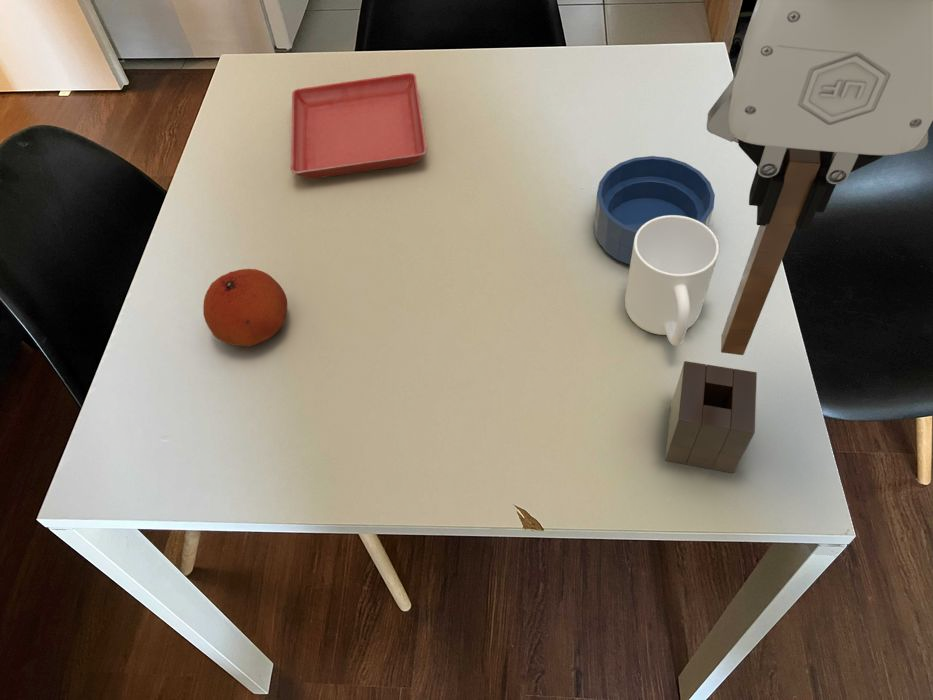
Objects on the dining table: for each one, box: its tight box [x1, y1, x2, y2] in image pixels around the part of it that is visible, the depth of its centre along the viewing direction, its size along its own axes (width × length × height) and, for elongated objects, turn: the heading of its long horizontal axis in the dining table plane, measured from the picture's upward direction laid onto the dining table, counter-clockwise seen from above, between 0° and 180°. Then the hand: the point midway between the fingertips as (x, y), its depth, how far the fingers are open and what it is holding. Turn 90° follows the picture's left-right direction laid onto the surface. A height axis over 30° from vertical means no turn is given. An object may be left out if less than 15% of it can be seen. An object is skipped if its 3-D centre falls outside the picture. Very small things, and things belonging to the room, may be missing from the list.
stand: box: [664, 360, 758, 474], centre depth 67 cm, size 6×6×8 cm
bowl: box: [593, 155, 716, 266], centre depth 84 cm, size 13×13×6 cm
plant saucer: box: [290, 72, 428, 179], centre depth 100 cm, size 18×18×3 cm
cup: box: [624, 215, 720, 347], centre depth 75 cm, size 8×12×10 cm
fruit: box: [202, 268, 288, 347], centre depth 80 cm, size 9×9×8 cm
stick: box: [720, 148, 821, 356], centre depth 52 cm, size 2×2×20 cm
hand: (782, 211), depth 48 cm, fingers closed on stick, 1 cm apart
